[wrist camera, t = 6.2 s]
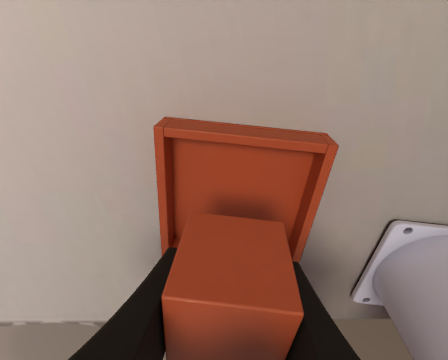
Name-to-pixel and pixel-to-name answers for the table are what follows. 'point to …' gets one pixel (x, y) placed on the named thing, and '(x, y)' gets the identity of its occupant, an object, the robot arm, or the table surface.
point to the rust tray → (240, 175)
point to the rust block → (231, 291)
